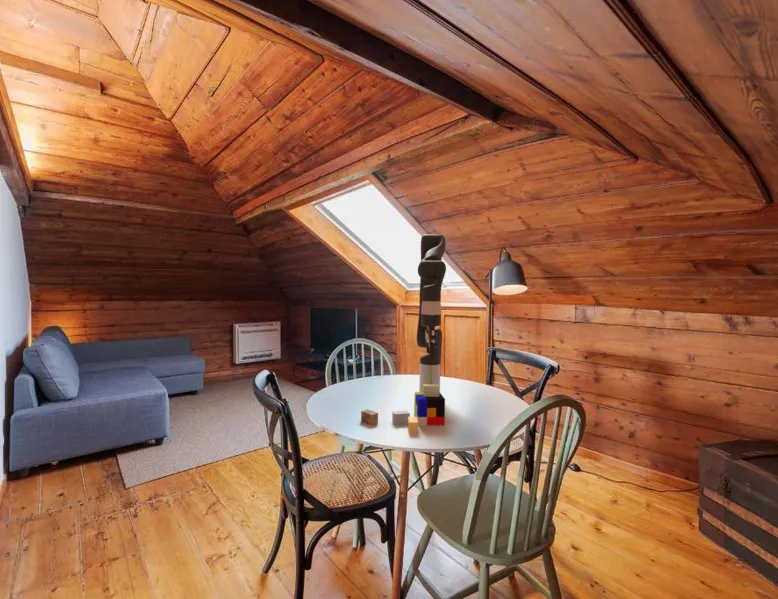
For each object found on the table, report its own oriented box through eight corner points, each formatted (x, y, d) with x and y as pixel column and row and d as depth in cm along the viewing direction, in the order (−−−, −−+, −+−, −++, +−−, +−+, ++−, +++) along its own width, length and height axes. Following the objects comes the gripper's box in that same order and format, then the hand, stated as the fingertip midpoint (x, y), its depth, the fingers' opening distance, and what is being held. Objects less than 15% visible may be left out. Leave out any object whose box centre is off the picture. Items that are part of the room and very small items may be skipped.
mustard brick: (407, 427, 145) (408, 416, 145) (416, 427, 145) (416, 416, 145) (408, 433, 139) (409, 422, 139) (417, 433, 139) (418, 422, 139)
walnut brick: (361, 421, 151) (361, 410, 151) (367, 419, 153) (367, 409, 153) (371, 425, 147) (371, 414, 146) (377, 423, 149) (378, 412, 149)
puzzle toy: (418, 425, 147) (418, 399, 146) (414, 416, 157) (414, 392, 156) (444, 425, 148) (445, 399, 147) (438, 416, 158) (439, 391, 157)
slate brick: (394, 424, 148) (394, 414, 148) (392, 421, 151) (392, 411, 151) (409, 423, 149) (409, 413, 149) (407, 420, 152) (407, 410, 152)
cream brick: (423, 396, 150) (423, 386, 150) (422, 394, 153) (423, 384, 153) (439, 396, 150) (439, 386, 150) (438, 394, 153) (438, 384, 153)
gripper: (419, 311, 157) (419, 351, 158) (423, 314, 143) (422, 358, 144) (438, 311, 158) (437, 352, 158) (443, 314, 143) (443, 358, 144)
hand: (430, 355), depth 151 cm, fingers open, 8 cm apart
